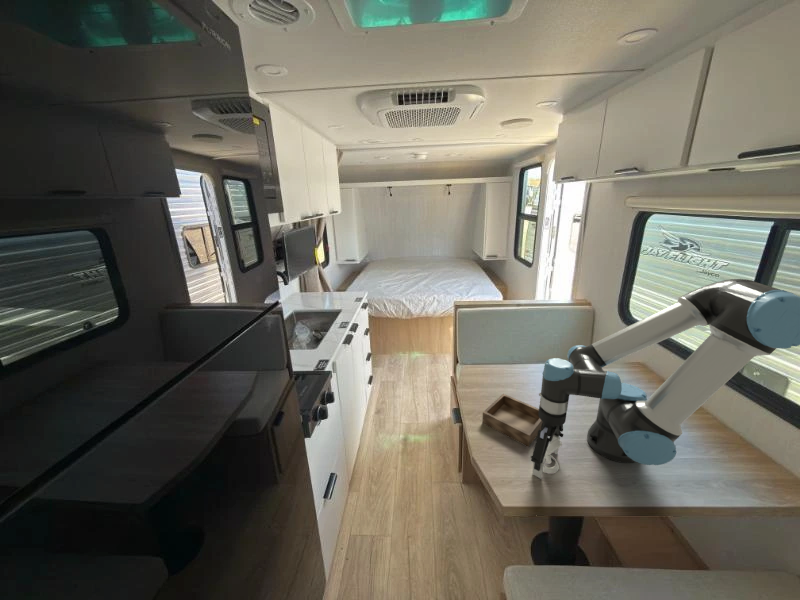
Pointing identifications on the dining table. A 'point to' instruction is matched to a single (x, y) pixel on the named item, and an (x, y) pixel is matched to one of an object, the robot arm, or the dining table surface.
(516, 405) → the wooden tray
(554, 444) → the hook
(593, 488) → the dining table surface
